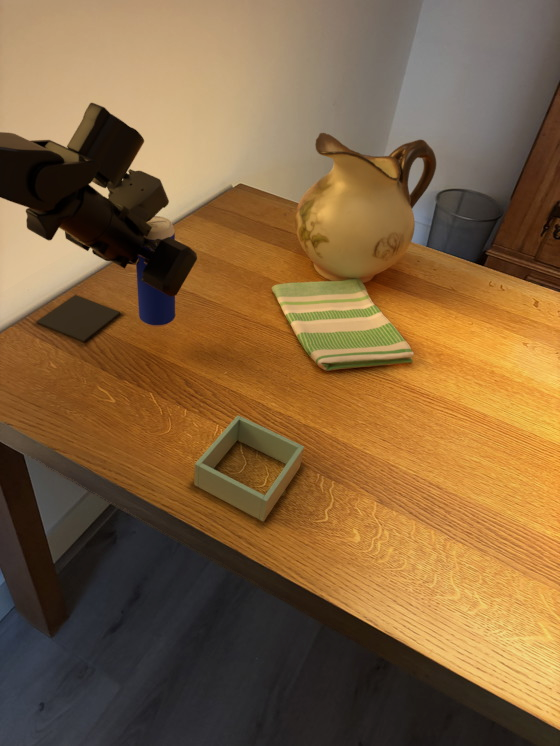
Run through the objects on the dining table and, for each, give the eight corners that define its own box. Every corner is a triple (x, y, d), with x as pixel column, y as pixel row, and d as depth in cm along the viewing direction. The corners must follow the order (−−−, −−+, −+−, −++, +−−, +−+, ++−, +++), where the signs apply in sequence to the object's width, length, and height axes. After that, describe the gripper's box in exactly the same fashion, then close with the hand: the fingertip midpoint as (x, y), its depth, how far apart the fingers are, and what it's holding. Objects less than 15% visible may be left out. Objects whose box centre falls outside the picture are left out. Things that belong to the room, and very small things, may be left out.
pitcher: (271, 276, 104) (287, 142, 87) (313, 230, 121) (333, 110, 104) (383, 313, 99) (423, 177, 82) (410, 259, 116) (448, 137, 100)
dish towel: (359, 286, 105) (362, 274, 103) (415, 364, 88) (420, 351, 87) (270, 292, 99) (272, 279, 98) (313, 376, 83) (315, 362, 81)
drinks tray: (263, 522, 63) (266, 501, 60) (194, 485, 65) (194, 463, 63) (300, 467, 69) (304, 446, 67) (235, 435, 72) (237, 414, 70)
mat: (84, 342, 83) (83, 340, 83) (36, 323, 85) (36, 321, 85) (120, 313, 89) (120, 311, 89) (75, 296, 91) (75, 294, 91)
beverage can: (171, 307, 83) (170, 213, 73) (178, 326, 79) (178, 231, 70) (136, 310, 81) (130, 215, 71) (142, 330, 77) (137, 233, 68)
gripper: (187, 183, 58) (243, 244, 73) (72, 133, 65) (144, 198, 80) (135, 273, 58) (202, 317, 73) (25, 213, 65) (106, 264, 80)
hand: (162, 270), depth 76 cm, fingers closed on beverage can, 5 cm apart
